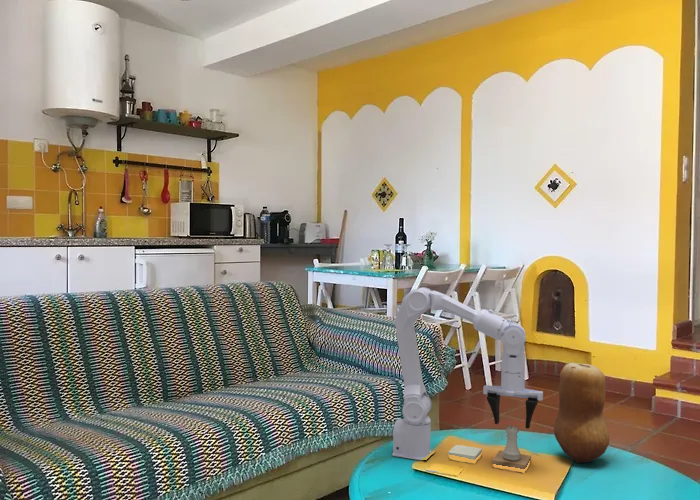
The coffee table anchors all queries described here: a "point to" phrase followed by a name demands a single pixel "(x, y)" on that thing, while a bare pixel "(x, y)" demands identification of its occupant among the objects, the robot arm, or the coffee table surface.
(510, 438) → the rook chess piece
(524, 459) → the walnut block
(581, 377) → the butternut squash
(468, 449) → the grey-green block
